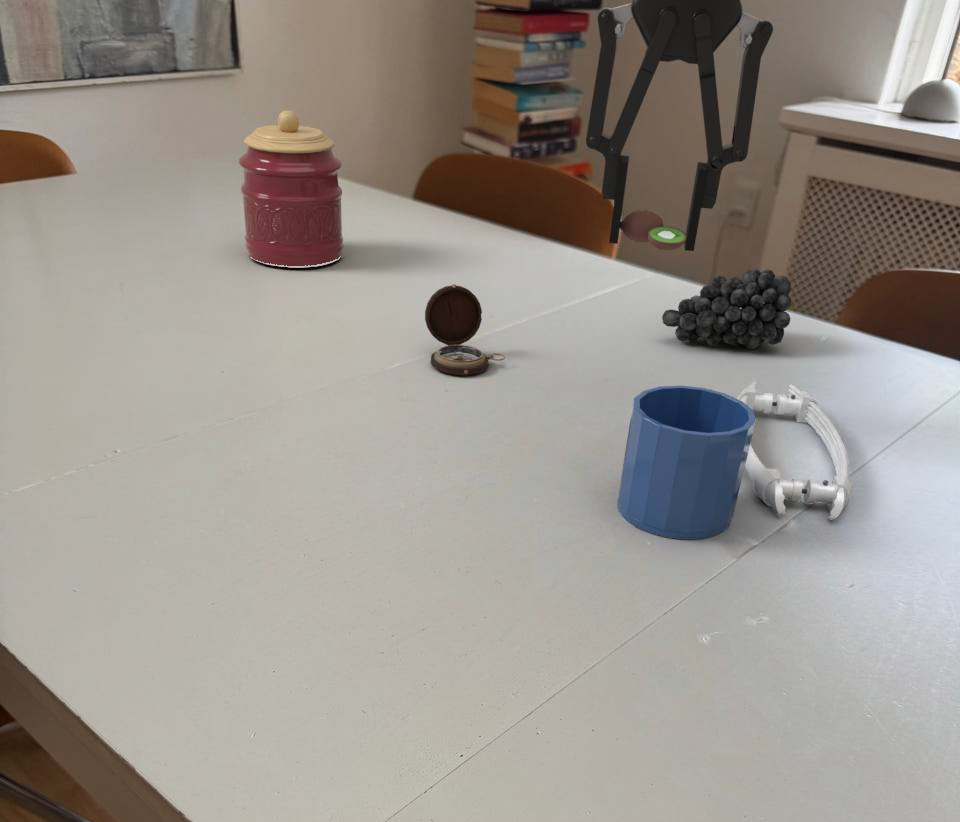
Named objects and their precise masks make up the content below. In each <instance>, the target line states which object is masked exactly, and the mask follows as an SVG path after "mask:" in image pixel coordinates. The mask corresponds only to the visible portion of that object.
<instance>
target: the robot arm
mask: <svg viewBox="0 0 960 822" xmlns="http://www.w3.org/2000/svg"><path fill="white" fill-rule="evenodd" d="M743 9H744V8H743V4H742V1H741V0H632V1H631V2H630V3H625V4H622V5H618V6H615V7H610V6H604V7H603V8H602V9H601V10H600V11H599V13H598V15H597V25H598V33H599V39H600V48H599V49H600V50H599V57H598V62H597V69H596V75H595V81H594V88H593V94H592V100H591V106H590V112H589V119H588V124H587V125H588V126H587V132H586V137H585V143H586V147H588V148H589V149H591V150H595V151H597V152H598V153H600V154H602V155H603V157H604V162H605V163H604V171H603V178H602V179H603V180H602V187H601V195H602V199H603V200H611V201H613V209H612V215H611V224H610V233H609V239H608V241H609V242H608V244H614V245H615V244H616V245H618V244H619V238H620V231H621V229H620V223H621V221H622V215H623V208H624V207H623V206H624V200H625V191H626V184H627V176H628V171H629V170H628V169H629V162H630V156H629V155H622V153H623V150H624V147H625V145H626V143H627V140H628V137H629V135H630V133H631V131H632V128H633V126H634V123H635V122H636V118H637V116H638V113H639V111H640V109H641V107H642V104H643V102H644V99H645V97H646V94H647V92H648V89H649V87H650V85H651V83H652V80H653V78H654V76H655V74H656V71H657V69H658V66H659V64H660V62H666V63H669V62H676V61H681V62H684V63H685V64H690V65H697V71H698V81H699V88H700V99H701V107H702V115H703V116H702V117H703V118H702V119H703V126H704V135H705V146H706V155H707V160H706V162H700V161H698V162H697V165H696V169H695V170H696V171H695V177H694V183H693V189H692V195H691V199H690V207H689V213H688V219H687V224H686V230H685V234H686V235H687V238H686V241H685V243H684V251H688V252H694V251H695V247H696V246H695V245H696V240H697V234H698V228H699V224H700V217H701V212H702V209H709V210H712V209H713V208H714V206H715V205H716V203H717V198H718V192H719V186H720V180H721V175H722V171H723V169H725V167H726V166H727V165H730V164H733V163H741V162H744V161H745V160H746V159H747V157H748V153H749V145H750V138H751V132H752V125H753V117H754V110H755V103H756V97H757V91H758V90H757V88H758V81H759V74H760V67H761V60H762V57H763V54H764V52H765V50H766V47H767V45H768V43H769V41H770V39H771V37H772V35H773V31H774V26H773V24H772V22H770V21H769V20H768V19H767V18H758V17H756V16H754V15H751V14H749V13H747V12H745V11H743ZM630 20H634V22H635V24H636V26H637V28H638V30H639V33H640V35H641V37H642V39H643V41H644V43H645V45H646V50H645V52H644V55H643V58H642V60H641V63H640V65H639V68H638V69H637V72H636V75H635V77H634V79H633V82H632V84H631V87H630V89H629V92H628V95H627V96H626V100H625V102H624V104H623V107H622V109H621V112H620V114H619V117H618V119H617V122H616V124H615V126H614V129H613V132H612V133H611V136H610V135H609V134H607V133H604V126H605V120H606V115H607V108H608V104H609V103H608V102H609V96H610V91H611V85H612V78H613V73H614V68H615V67H614V66H615V61H616V55H617V48H618V39H620V38H622V37H623V36H624V35H625V33H626V30H627V24H628V22H629V21H630ZM736 27H737V28H739V31H740V35H739V43H740V45H741V47H743V48H744V51H743V55H742V60H741V67H740V68H741V70H740V76H739V82H738V89H737V100H736V105H735V114H734V122H733V128H732V129H733V130H732V135H731V136H732V137H731V143H729V144H725V145H723V138H722V127H721V118H720V109H719V98H718V87H717V78H716V65H715V57H714V56H715V55H714V53H715V52H716V51H717V49H718V48H719V47H720V46H721V45H722V44H723V42H724V41H726V39H727V38H728V37H729V35H730V34H731V33H732V32H733V30H734V29H735V28H736Z"/></svg>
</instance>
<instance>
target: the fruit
mask: <svg viewBox="0 0 960 822" xmlns="http://www.w3.org/2000/svg"><path fill="white" fill-rule="evenodd" d="M791 286H792V282H791V281H790V279H788V277H787V276H784V275H783V274H779V275H776V274H775V272H774V271H773V270H771V269H765V270H762V271H760V270H759V269H751V270H750V269H749V270H746V271H745V272H744V273H743V274H742V275H741V279H740V278H739V277H735V276H734V277H732V278H729V279H727V278H726V276H723V275H718V276H715V277H713V279H712V280H711V284H709V283H708V284H705V285H703V286H702V288H701V290H700V291H699V295H694V296H691V297H690V298H685V299H682V300H681V301H680V302H679V303H678V307H677V310H676V309H666V310H665V311H664V312H663V314H662V316H661V319H662V324H663V325H664V326H666V327H670V328H675V331H674V334H675V336H676V338H677V340H678V341H681V342H686V341H689V342H691V343H695V342H697V341H698V340H699V339H700V338H704V339H705V340H706V343H707V344H708V345H709V346H710V347H715V346H718V344H719V343H720V341H721V340H723V342H724V344H728V345H731V346H735V347H738V346H740V345H744V347H745V348H746V349H748V350H756V348H758V347H759V346H760V345H762V344H764V343H765V342H767V343H768V344H769V345H772V346H775V345H779V344H780V343H782V342H783V338H784V336H785V329H786V328H787V327H788V326H789V325H790V322H791V320H792V318H791V315H790V314H789V313H788V312H787V310H791V311H795V312H796V311H797V308H796V307H794V306H791V304H792V299H791V297H790V296H789V295H790V293H791Z"/></svg>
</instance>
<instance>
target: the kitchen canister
mask: <svg viewBox="0 0 960 822" xmlns="http://www.w3.org/2000/svg"><path fill="white" fill-rule="evenodd" d="M277 117H278V118H277V124H274V125H273V124H272V125H264V126H259V127H257V128H255V129H254V130H253V132H252V133H250V134H249V135H247V136H246V137H244V139H243V143H244V145H245V146H246V147H247V151H246V152H245V153H244V154H242V155H241V156H240V157H239V159H238V164H239V165H240V167H241V168H242V169H243V184H242V185H241V187H240V192H241V193H242V200H243V211H244V212H243V213H244V227H245V234H244V240H245V248H246V250H247V255H248V254H249V256H250V257H252V258H253V259H255V260H258V261H261V262H264V263H269V264H270V263H271V264H275V265H276V264H277V265H284V266H286V265H287V266H305V265H306V266H308V265H310V266H311V265H317V264H322V263H326V262H330V261H333V260H335V259H338V258H339V257H340V256H341V255H343V250H344V236H343V230H342V229H343V228H342V227H343V225H342V223H343V222H342V195H343V189H342V188H341V187H340V186H339V176H338V172H339V170H340V169H341V168H342V165H343V164H342V161H341V160H340V159H339V158H338V157H337V156H335V155H334V154H333V152H332V149H333V148H334V147H335V141H334V140H333V139H331V138H330V137H328V136H327V135H326V134H325V133H324V132H323V130H321V129H318V128H315V127H312V126H311V127H310V126H305V125H300V119H299V118H298V115H297V113H296V112H294V111H293V110H290V109H288V110H282V111H281V112H280V113H279V114H278V116H277ZM249 256H248V257H249ZM250 257H249V258H250Z"/></svg>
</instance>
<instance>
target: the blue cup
mask: <svg viewBox="0 0 960 822" xmlns="http://www.w3.org/2000/svg"><path fill="white" fill-rule="evenodd" d="M632 400H633V401H632V407H631V412H630V413H631V414H630V419H629V426H628V432H627V439H626V444H625V445H626V446H625V452H624V458H623V463H622V464H623V465H622V470H621V476H620V477H621V478H620V484H619V489H618V500H617V508H618V511H619V513H620V515H621V516H622V518H624V519H625V520H626V521H627V522H628V523H630V524H631V525H633V527H636V528H638V529H640V530H642V531H644V532H647V533H650V534H653V535H654V536H655V535H656V536H659V537H663V538H669V539H674V540H701V539H708V538H711V537H715V536H717V535H719V534H721V533H723V532H725V531H726V530H727V529H728V528H729V526H730V525H731V522H732V518H733V517H734V515H735V510H736V506H737V501H738V498H739V493H740V490H741V485H742V482H743V481H742V480H743V477H744V472H745V469H744V468H745V464H746V460H747V455H748V451H749V447H750V444H751V443H752V438H753V432H754V429H755V425H756V416H755V410H752V409H751V408H749V407H748V406H747V405H746V404H745V403H744V402H742V401H740V400H738V398H736V397H734V396H731V395H729V394H727V393H726V392H721V391H717V390H713V389H710V388H706V387H700V386H689V385H663V386H662V385H661V386H656V387H652V388H649V389H645V390H642V391H641V392H640V393H639V394H637V395H636V396H634V398H633V399H632Z"/></svg>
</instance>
